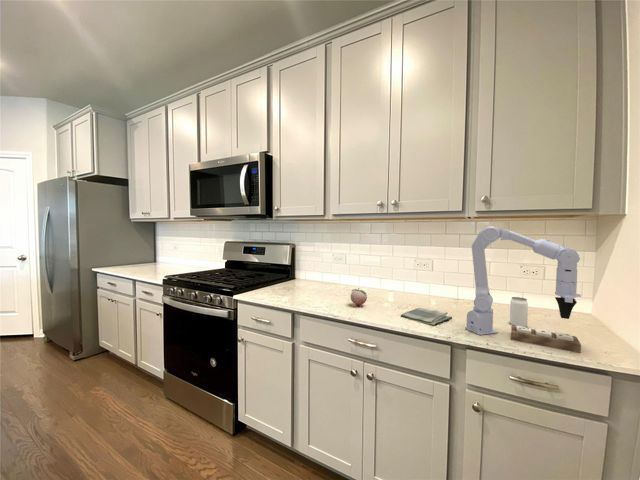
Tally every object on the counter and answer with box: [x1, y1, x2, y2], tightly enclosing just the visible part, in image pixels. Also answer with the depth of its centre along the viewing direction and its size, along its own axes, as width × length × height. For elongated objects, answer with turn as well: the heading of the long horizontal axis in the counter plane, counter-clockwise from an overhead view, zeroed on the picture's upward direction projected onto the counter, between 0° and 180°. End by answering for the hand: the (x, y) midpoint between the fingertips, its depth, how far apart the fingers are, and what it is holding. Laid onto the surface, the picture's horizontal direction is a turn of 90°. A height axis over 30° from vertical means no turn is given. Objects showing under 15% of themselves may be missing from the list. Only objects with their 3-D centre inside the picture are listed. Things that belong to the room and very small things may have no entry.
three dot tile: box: [516, 326, 532, 334], centre depth 110 cm, size 5×5×3 cm
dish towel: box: [400, 307, 453, 327], centre depth 135 cm, size 19×18×3 cm
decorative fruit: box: [350, 287, 368, 307], centre depth 154 cm, size 9×8×10 cm
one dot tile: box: [535, 328, 552, 338], centre depth 106 cm, size 5×5×3 cm
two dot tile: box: [554, 331, 574, 341], centre depth 103 cm, size 5×5×3 cm
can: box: [509, 296, 529, 327], centre depth 125 cm, size 6×6×12 cm
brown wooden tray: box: [510, 325, 582, 353], centre depth 106 cm, size 20×9×3 cm, turn 55°
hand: (564, 317), depth 103 cm, fingers closed
